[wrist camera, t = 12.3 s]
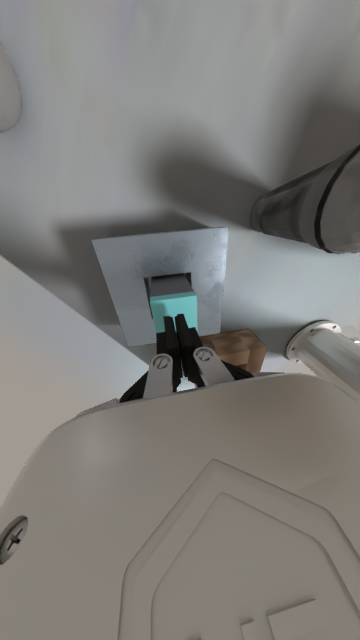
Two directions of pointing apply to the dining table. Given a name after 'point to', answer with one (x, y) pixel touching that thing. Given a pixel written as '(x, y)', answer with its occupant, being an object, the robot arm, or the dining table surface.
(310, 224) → the beverage cup
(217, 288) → the socket block
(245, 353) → the wooden square hole block
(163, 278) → the plug
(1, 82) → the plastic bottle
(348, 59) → the dining table surface
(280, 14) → the dining table surface
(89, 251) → the dining table surface
